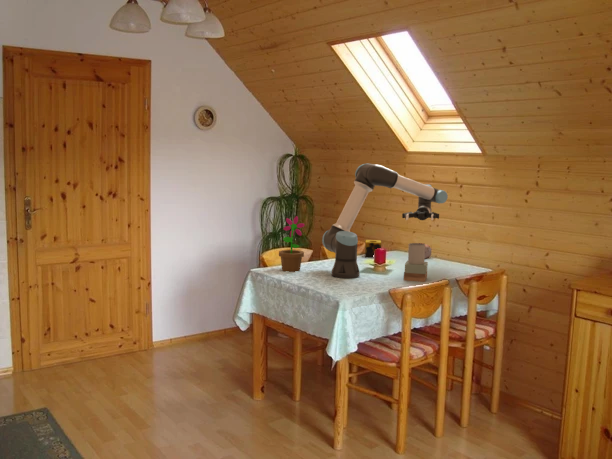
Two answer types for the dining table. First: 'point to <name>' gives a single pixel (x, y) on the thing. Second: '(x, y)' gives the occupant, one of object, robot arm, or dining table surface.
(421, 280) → the tower bottom block
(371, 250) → the yellow black cube
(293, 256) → the flowerpot
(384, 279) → the dining table surface
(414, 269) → the tower top block
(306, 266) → the dining table surface
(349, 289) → the dining table surface
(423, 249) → the cup
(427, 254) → the food item
